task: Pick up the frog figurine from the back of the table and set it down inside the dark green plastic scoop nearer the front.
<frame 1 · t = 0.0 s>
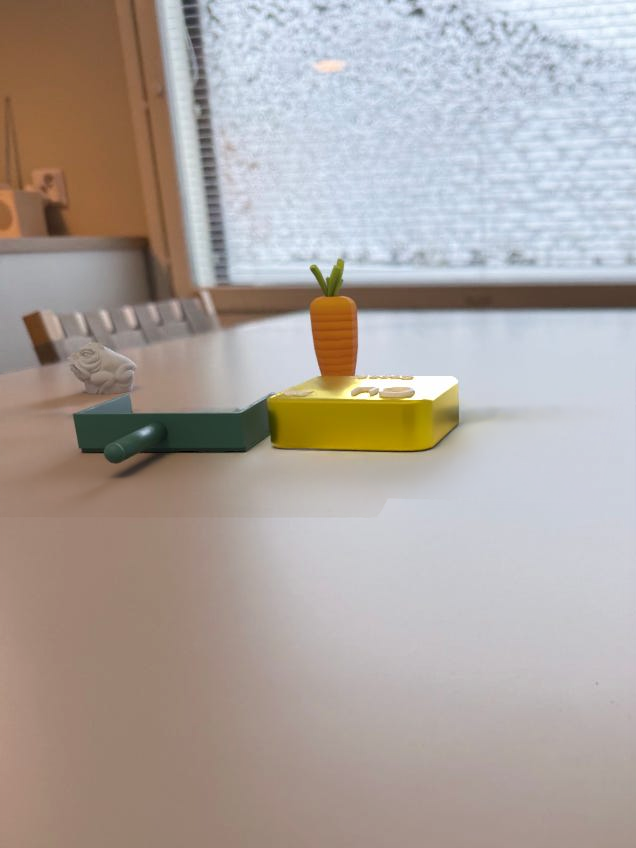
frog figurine: (110, 409, 106), on the table
carrot: (340, 407, 105), on the table
scoop: (185, 439, 89), on the table
element tile: (369, 436, 89), on the table
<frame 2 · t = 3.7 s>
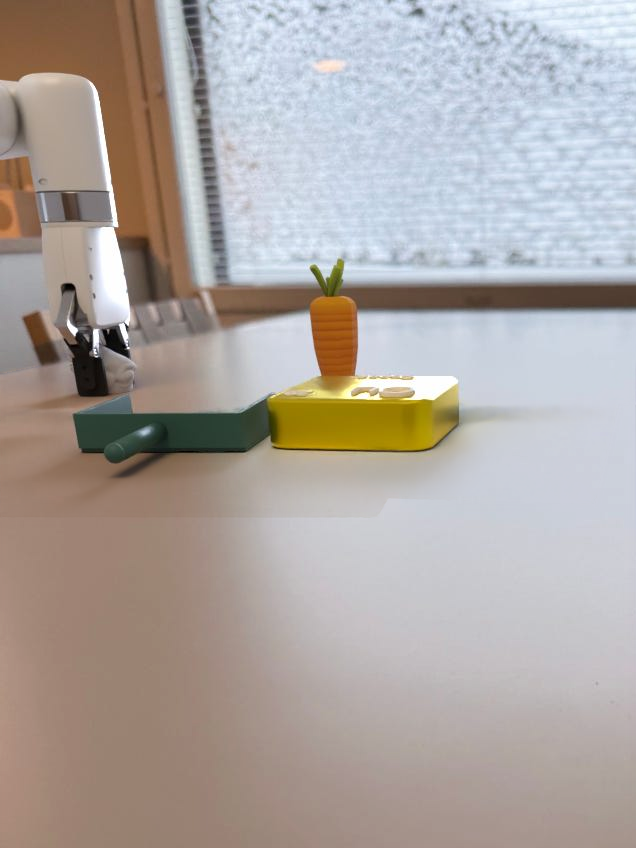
hand: (107, 389, 105), 2 cm above the table, tool pointing down, fingers closed on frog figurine, 6 cm apart
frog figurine: (110, 409, 106), on the table, touching gripper
everything else where it was.
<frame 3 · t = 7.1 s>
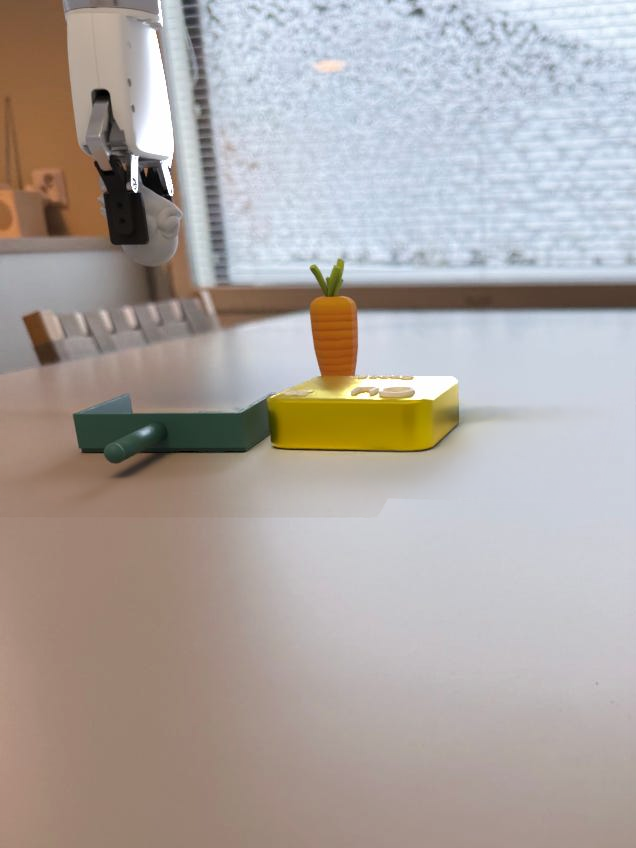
hand: (145, 242, 84), 17 cm above the table, tool pointing down, fingers closed on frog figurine, 6 cm apart
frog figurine: (149, 268, 85), point 15 cm above the table, touching gripper
everything else where it was.
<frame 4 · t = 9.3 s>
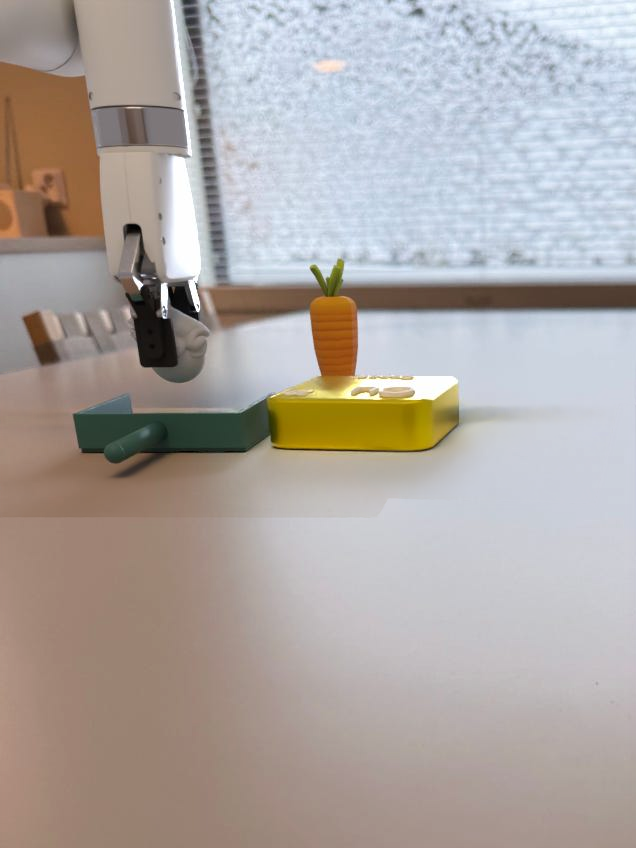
hand: (173, 360, 86), 7 cm above the table, tool pointing down, fingers closed on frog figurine, 6 cm apart
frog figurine: (177, 385, 87), point 5 cm above the table, touching gripper
everything else where it was.
when the fingers open (2 cm above the table, at t = 11.0 s): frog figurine stays where it is, resting on scoop.
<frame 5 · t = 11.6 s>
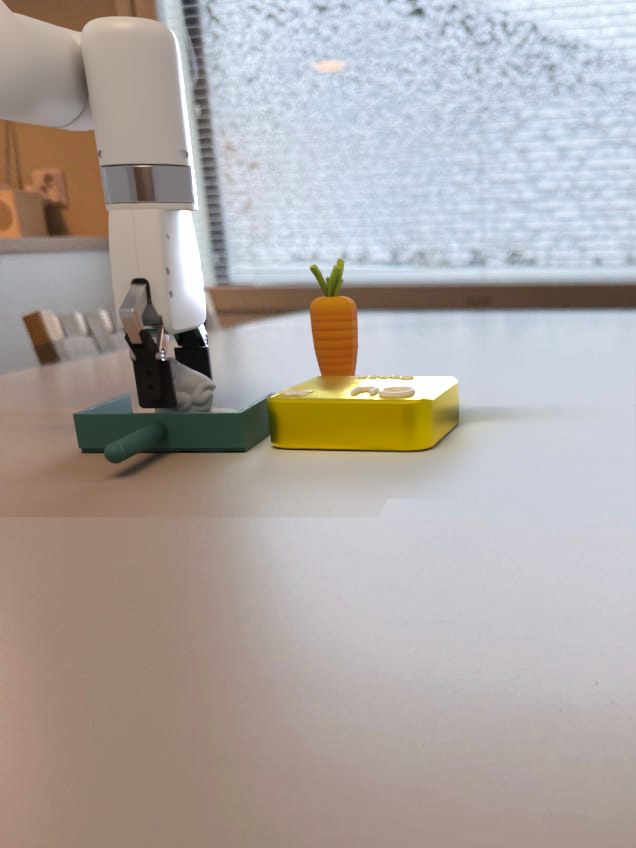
hand: (178, 398, 87), 4 cm above the table, tool pointing down, fingers open, 9 cm apart
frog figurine: (184, 437, 89), resting on scoop
everything else where it was.
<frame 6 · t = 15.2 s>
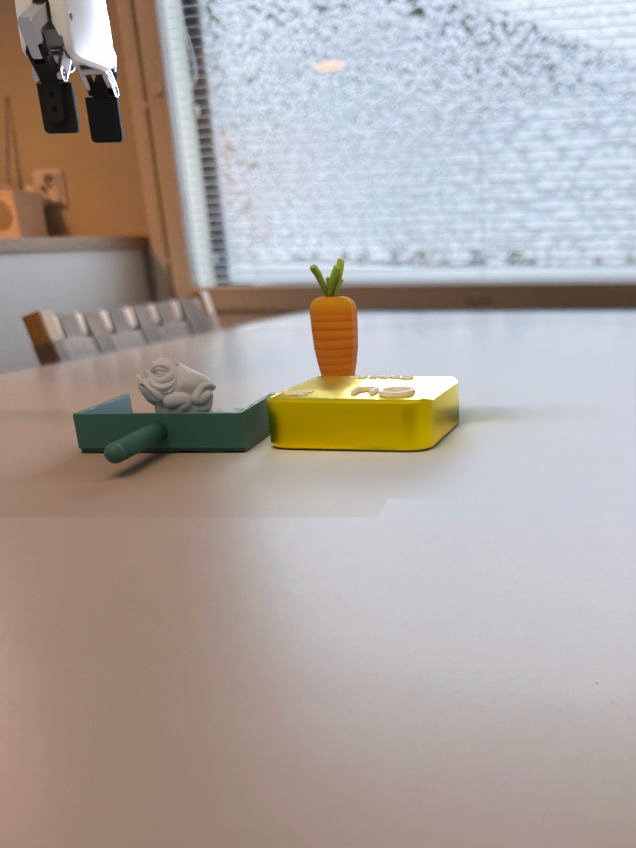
hand: (86, 137, 92), 26 cm above the table, tool pointing down, fingers open, 9 cm apart
nothing on the table moved.
at the end: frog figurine inside the target area in the scoop (0.1 cm from its centre), point 0.2 cm above the scoop's base; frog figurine tilted 0° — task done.
